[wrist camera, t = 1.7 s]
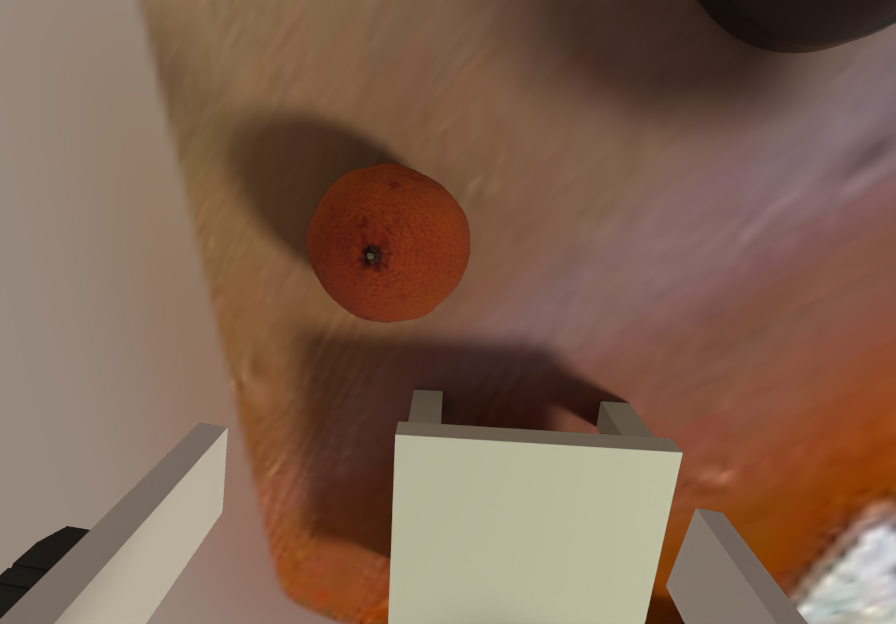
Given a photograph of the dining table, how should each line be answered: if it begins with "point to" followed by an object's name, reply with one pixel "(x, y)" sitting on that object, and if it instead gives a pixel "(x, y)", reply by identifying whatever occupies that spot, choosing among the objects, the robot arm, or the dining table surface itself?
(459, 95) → the dining table surface
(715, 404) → the dining table surface
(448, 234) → the fruit
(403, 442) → the small white table
